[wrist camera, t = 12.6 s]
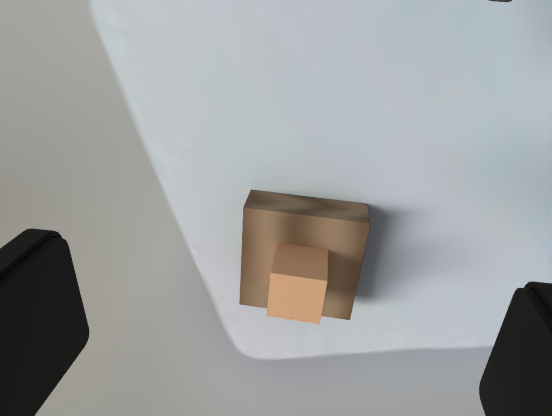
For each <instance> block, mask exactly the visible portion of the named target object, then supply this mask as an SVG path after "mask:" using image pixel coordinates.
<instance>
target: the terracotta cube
mask: <svg viewBox="0 0 552 416" xmlns="http://www.w3.org/2000/svg"><path fill="white" fill-rule="evenodd" d="M327 275H328V249H320V248H313V247H306V246H299V245H292V244H285V243H277V247H276V251H275V256H274V260H273V265H272V269H271V274H270V285H269V295H268V306H267V316H271V317H278V318H285V319H291V320H298V321H304V322H311V323H317V324H320V319H321V314H322V308H323V303H324V297H325V292H326V286H327Z"/></svg>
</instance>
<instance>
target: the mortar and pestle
mask: <svg viewBox="0 0 552 416" xmlns="http://www.w3.org/2000/svg"><path fill="white" fill-rule="evenodd" d="M489 1H498V2H510V1H512V0H489Z"/></svg>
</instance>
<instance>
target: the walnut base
mask: <svg viewBox="0 0 552 416" xmlns="http://www.w3.org/2000/svg"><path fill="white" fill-rule="evenodd" d="M369 227H370V219H369V212H368V206H367V204H363V203H355V202H347V201H339V200H330V199H322V198H314V197H306V196H298V195H289V194H281V193H273V192H265V191H256V190H251V191H250V193H249V196H248V198H247V200H246V203H245V205H244V208H243V232H242V257H241V281H240V304H241V305H248V306H255V307H262V308H267V306H268V295H269V285H270V274H271V269H272V265H273V260H274V256H275V251H276V247H277V243H285V244H292V245H299V246H306V247H313V248H320V249H328V275H327V286H326V292H325V297H324V303H323V308H322V314H321V316H325V317H332V318H339V319H346V320H350V317H351V312H352V308H353V303H354V298H355V293H356V289H357V284H358V279H359V274H360V270H361V265H362V260H363V255H364V251H365V246H366V241H367V236H368V232H369Z"/></svg>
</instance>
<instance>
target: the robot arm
mask: <svg viewBox="0 0 552 416" xmlns="http://www.w3.org/2000/svg"><path fill="white" fill-rule="evenodd" d="M88 338H89V327H88V323H87V319H86V315H85V311H84V306H83V303H82V298H81V295H80V290H79V286H78V282H77V278H76V274H75V270H74V266H73V262H72V258H71V254H70V250H69V246H68V243H67V241H66V240H65V239H63V238H62V237H61V235H60V234H59V233H58V232H56V231H51V230H40V229H27V230H25V231H23V232H22V233H21V234H19V235H18V236H17V237H16V238H14V239H13V240H11V241H10V242H9V243H7V244H6V245H5V246H3V247H2V248H1V249H0V416H35V414H36V413H37V411H38V410H39V409H40V407H41V406H42V405H43V403H44V402H45V400H46V399H47V398H48V396H49V395H50V394H51V392H52V391H53V389H54V388H55V387H56V385H57V384H58V382H59V381H60V380H61V379H62V377H63V375H64V374H65V373H66V372H67V370H68V369H69V368H70V366H71V365H72V363H73V362H74V361H75V359H76V358H77V357H78V355H79V354H80V352H81V351H82V349H83V348H84V347H85V345H86V343H87V341H88ZM479 394H480V400H481V403H482V406H483V409H484V412H485V415H486V416H552V284H551V283H542V282H528V283H527V284H526V285H525V287H524V288H518V289H517V290H516V291H515V292H514V295H513V297H512V300H511V302H510V305H509V308H508V310H507V313H506V315H505V318H504V321H503V323H502V326H501V329H500V331H499V334H498V336H497V339H496V342H495V344H494V347H493V350H492V352H491V355H490V357H489V360H488V363H487V365H486V368H485V370H484V373H483V376H482V379H481V381H480V386H479Z"/></svg>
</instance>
